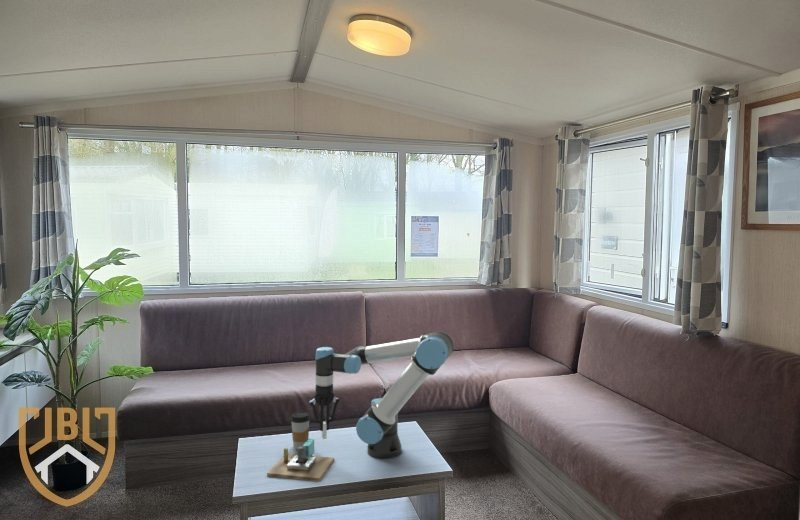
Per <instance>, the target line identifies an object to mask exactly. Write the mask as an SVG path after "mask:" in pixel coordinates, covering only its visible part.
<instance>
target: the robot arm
mask: <svg viewBox="0 0 800 520" xmlns="http://www.w3.org/2000/svg"><path fill="white" fill-rule="evenodd" d="M453 351H454V341H453V339H452V337H451V335H449V334H448V333H447V332H444V331H435V332H431V333H426V334H421V336H420V337H417V338H416V337H415V338H410V339H406V340H405V339H404V340H398V341H391V342H387V343H385V342H384V343H379V344H374V345H367V346H363V345H359V346H356V347H354V348H353V349H351V350H349V351H347V352H346V353H335V352H334V349H333V347H330V346H322V347H319V348H318V347H317V349H316V350H315V358H314V359H315V393H314V394H315V395H314V397H313V399H309V401H308V403H309V405H310V406H311V410H312V413H313V416H314V421H315V423H316V424H319V431H320V432H321V438H322V440H325V439H327V431H329V430H330V423H331V422H333V421H334V419H335V414H336V411H337V406H338V405H339V402H340V399H339V397H336V396H335V395H334V372H335V373H343V374H344V373H345V374H350V375H351V374H358V373H359V372H360V370H361V367H362V366H363V365H368V364H374V363H380V362H387V361H395V360H401V359H408V358H410V359H411V361H410V363H408V365H407V366H406V368H405V369H404V370H403V372H402V373H401V374H400V376H399V377H398V378H397V379H396V380H395V382H394V383H393V384H392V385H391V386H390V388H389V389H388V390H387V392H386V393H385V394H384V395H383V397H380V398H373V399H372V400H371V403H370V407H369V408H368V409H367V411H366V412H365V413H364V415H362V417H360V418H359V419H358V421H357V423H356V425H355V430H356V434H357V436H358V439H360V440H361V441H362V443H364V444H367V447H366V448H367V450H366V451H367V454H368V455H369V456H371V457H374V458H377V459H390V458H395V457H397V456H399V455H400V454H401V453H402V451H403V450H402V443H401V440H400V436H399V432H398V430H399V429H398V426H399V425H398V421H399V419H398V415H399V412H400V411H401V409H402V408H404V405H406V403H407V402H408V401H409V400H410V398H411V397H412V396H413V395H414V393H415V392H416V391H417V390H418V388H420V386H421V385H422V384H423V382H425V380H426V379H427V378H428V377H429V376H433V375H435V374H436V373H437V371H438V370H439V369H440V367H442V366H443V364H444V363H446V361H447V359H448V358H449V357H450V356H451V355H452V353H453ZM316 403H317V404H318V408H319V417H318V411H317V409H316ZM331 403H332V406H331V409H330V404H331ZM324 409H325V410H324ZM330 410H331V411H330ZM324 411H325V412H324ZM324 413H325V414H324ZM324 415H325V416H324ZM324 417H325V421H324Z"/></svg>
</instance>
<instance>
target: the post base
mask: <svg viewBox="0 0 800 520" xmlns="http://www.w3.org/2000/svg"><path fill="white" fill-rule="evenodd" d="M295 455H298V463H301V464H305V463H306V462H305V447H304V446H300V447H298V450H297V454H294V453H289V448H287V447H286V448H285V447H284V448H283V456H282V457H280V458H279V460H278V461H277V462H276V463H275V464H274V465H273V466H272V467H271V468H270V469H269V470H268V472H267V473H266V476H267V477H270V478H271V477H272V478H281V479H282V478H284V479H295V480H306V481H315V482H321V480H322V479H323V478H324V476H325V475H326V473H327V472H328V470H329V469H330V468H331V466H332V465H333V463H334V462H335V457H328V456H319V455H312V456H311V457H316V461H315V462H314V464H313V465H312V466H311V468H310V469H309V470H297V469H287V464H288V463H289V462H290V461H291V460H292V459H293V458H294V456H295Z"/></svg>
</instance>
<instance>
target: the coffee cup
mask: <svg viewBox="0 0 800 520" xmlns="http://www.w3.org/2000/svg"><path fill="white" fill-rule="evenodd" d="M310 420H311V418H310V415H309V412H307V411H297V412H293V413H292V414H291V417H290V421H291V432H292V443H293V444H292V445H293V449H295V450H296V451H298V447H300V446H303V445H304V443H305V442H306V441H307V440H308V439H310V438H309V437H310V436H309V434H310V433H309V432H310Z"/></svg>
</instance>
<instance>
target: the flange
mask: <svg viewBox="0 0 800 520" xmlns="http://www.w3.org/2000/svg"><path fill="white" fill-rule="evenodd" d="M303 446H304V447H305V462H306V463H305V464H301V463H298V454H296V455H295V456H294V458H293V459H292V460H291V461H290V462H289V463H288V464H287V469H297V470H309V469H310V468H311V466H312V465H313V464H314V462H315V461H316V457H311V456H314V454H315V438H308V440H307V441H306V442H305V443H304V445H303Z"/></svg>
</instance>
